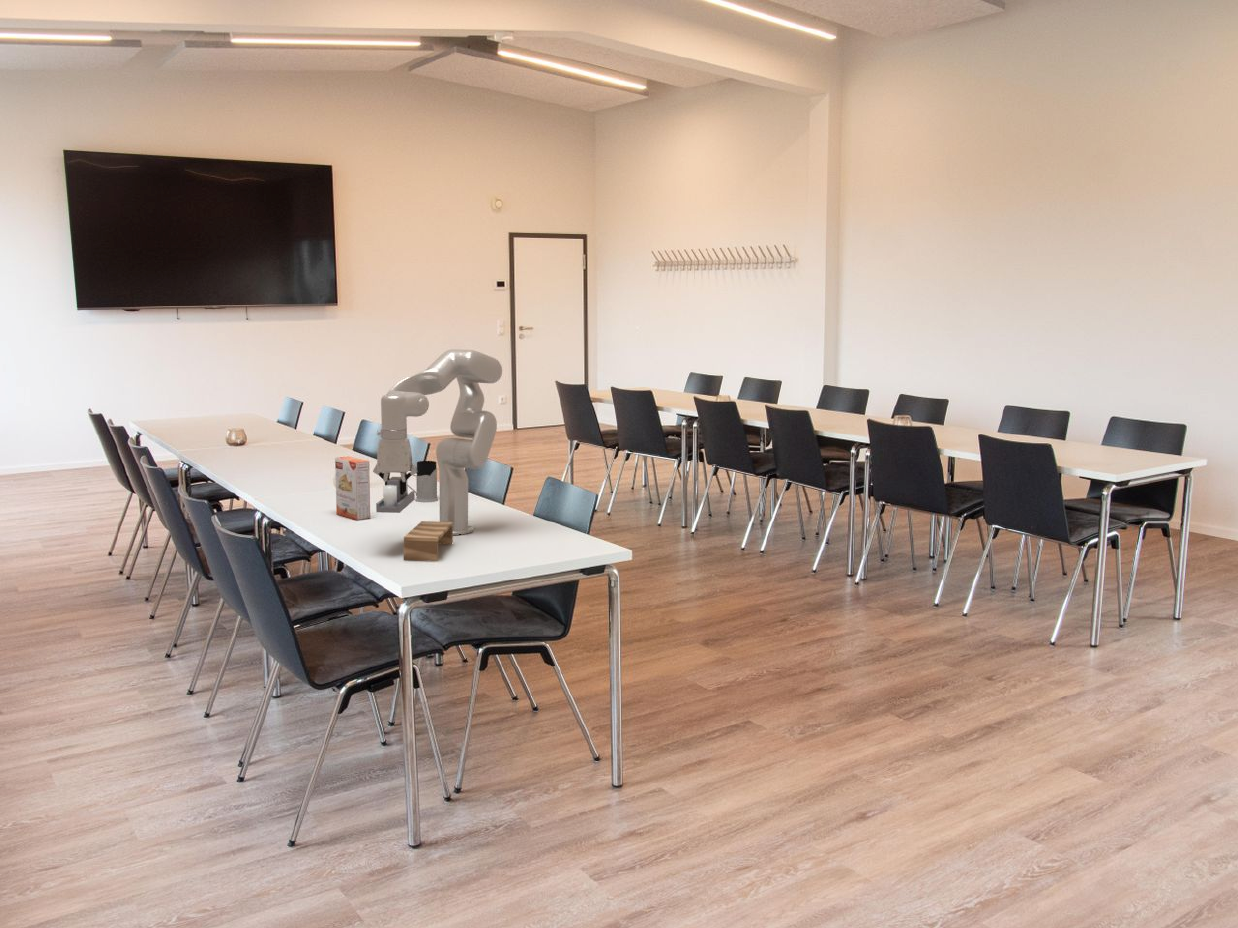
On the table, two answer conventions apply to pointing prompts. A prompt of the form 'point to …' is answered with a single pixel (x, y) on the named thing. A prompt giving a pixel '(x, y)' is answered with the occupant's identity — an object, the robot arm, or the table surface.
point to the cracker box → (352, 488)
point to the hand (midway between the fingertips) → (395, 493)
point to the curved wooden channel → (427, 540)
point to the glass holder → (426, 481)
